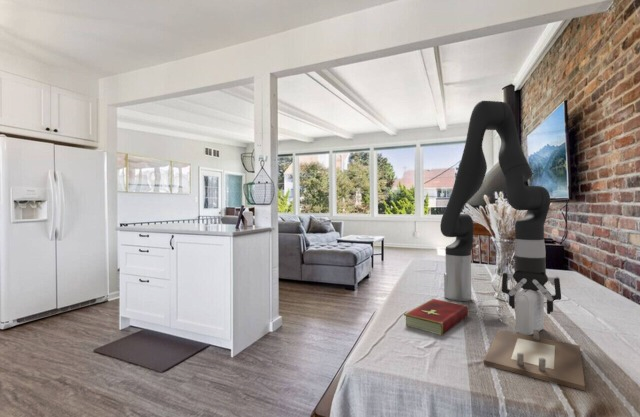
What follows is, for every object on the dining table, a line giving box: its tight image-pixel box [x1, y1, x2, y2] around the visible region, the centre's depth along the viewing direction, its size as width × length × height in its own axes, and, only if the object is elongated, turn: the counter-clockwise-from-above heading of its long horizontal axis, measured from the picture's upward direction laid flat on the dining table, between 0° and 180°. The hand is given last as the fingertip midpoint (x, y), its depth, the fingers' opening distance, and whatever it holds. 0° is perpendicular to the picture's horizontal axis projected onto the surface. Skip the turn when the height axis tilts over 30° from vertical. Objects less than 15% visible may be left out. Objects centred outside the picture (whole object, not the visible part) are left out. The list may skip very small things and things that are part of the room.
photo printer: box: [515, 289, 545, 336], centre depth 92 cm, size 10×4×12 cm, turn 123°
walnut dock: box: [483, 329, 586, 391], centre depth 77 cm, size 18×22×4 cm
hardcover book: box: [403, 298, 469, 337], centre depth 102 cm, size 12×21×4 cm, turn 137°
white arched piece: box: [475, 299, 506, 322], centre depth 104 cm, size 12×8×5 cm
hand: (530, 310), depth 92 cm, fingers open, 8 cm apart
